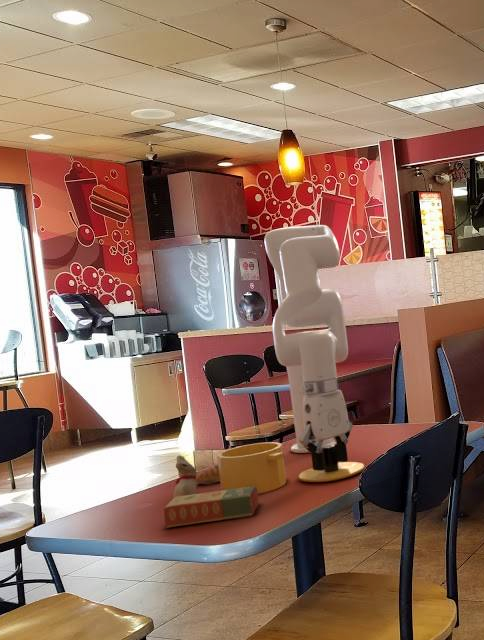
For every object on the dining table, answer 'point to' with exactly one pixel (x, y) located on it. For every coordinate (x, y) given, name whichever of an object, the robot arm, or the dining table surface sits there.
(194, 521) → the carton
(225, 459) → the pot
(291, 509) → the dining table surface
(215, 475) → the pastry
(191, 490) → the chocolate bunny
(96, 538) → the dining table surface
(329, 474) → the lid
